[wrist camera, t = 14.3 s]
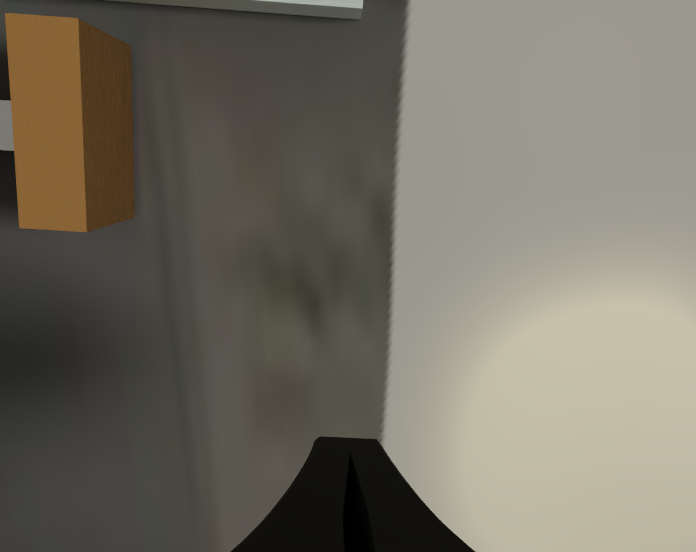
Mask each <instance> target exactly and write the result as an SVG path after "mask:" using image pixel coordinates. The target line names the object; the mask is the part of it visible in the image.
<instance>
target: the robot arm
mask: <svg viewBox="0 0 696 552" xmlns="http://www.w3.org/2000/svg"><path fill="white" fill-rule="evenodd" d="M231 552H475V551H474V550H472V549H471V548H470V547H469V546H468V545H467V544H466V543H464V542H463V541H462V540H461V539H460V538H459V537H458V536H456V535H455V534H454V533H453V532H452V531H451V530H450V529H448V527H446V526H445V525H444V524H443V523H442V522H441V521H440V520H439V519H438V518H437V517H436V516H435V514H434V513H433V512H432V511H431V510H430V509H429V508H428V507H427V506H426V505H425V503H424V502H423V501H422V500H421V499H420V498H419V497H418V495H417V494H416V493H415V492H414V490H413V489H412V488H411V487H410V485H409V484H408V483H407V481H406V480H405V479H404V477H403V476H402V475H401V473H400V472H399V471H398V469H397V468H396V466H395V465H394V464H393V462H392V461H391V459H390V458H389V456H388V455H387V453H386V452H385V450H384V449H383V447H382V446H381V444H380V443H379V442H378V441H377V439H361V438H340V437H319V438H318V439H316V440H315V441H314V445H313V447H312V450H311V452H310V454H309V456H308V458H307V460H306V462H305V464H304V465H303V467H302V469H301V470H300V472H299V473H298V475H297V477H296V478H295V480H294V481H293V483H292V484H291V486H290V487H289V489H288V490H287V491H286V493H285V494H284V495H283V496H282V498H281V499H280V500H279V502H278V503H277V504H276V505H275V507H274V508H273V509H272V510H271V512H270V513H269V514H268V515H267V516H266V517H265V519H264V520H263V521H262V522H261V523H260V524H259V525H258V526H257V527H256V528H255V529H254V530H253V531H252V532H251V533H250V534H249V535H248V536H247V537H246V538H245V539H244V540H243V541H242V542H241V543H240V544H239V545H238V546H236V547H235V548H234V549H233V550H232V551H231Z"/></svg>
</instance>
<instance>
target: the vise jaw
mask: <svg viewBox="0 0 696 552" xmlns="http://www.w3.org/2000/svg"><path fill="white" fill-rule="evenodd" d="M5 22H6V37H7V52H8V67H9V82H10V96H11V101H8V100H0V150H8V151H14V156H15V171H16V186H17V200H18V215H19V228H27V229H44V230H60V231H77V232H89V231H92V230H95V229H98V228H102V227H105V226H108V225H111V224H115V223H118V222H121V221H124V220H128V219H131V218H134V217H135V206H134V158H133V110H132V62H131V46H129V45H127V44H125V43H124V42H122V41H120V40H118V39H116V38H114V37H112V36H110V35H109V34H107V33H105V32H103V31H101V30H99V29H97V28H95V27H94V26H92V25H90V24H88V23H86V22H84V21H82V20H80V19H79V18H68V17H54V16H41V15H27V14H14V13H5Z"/></svg>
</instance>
